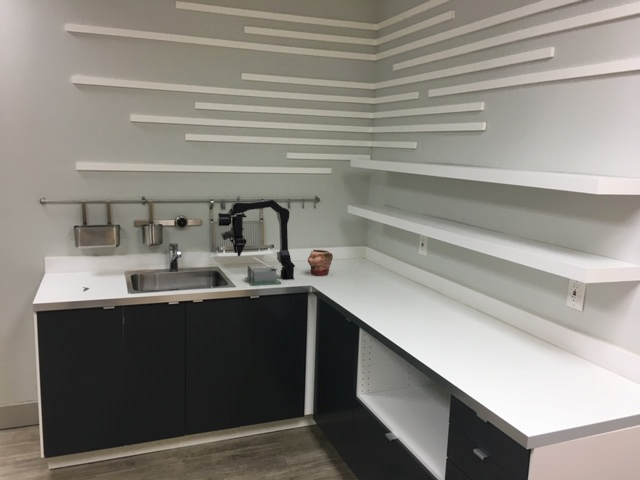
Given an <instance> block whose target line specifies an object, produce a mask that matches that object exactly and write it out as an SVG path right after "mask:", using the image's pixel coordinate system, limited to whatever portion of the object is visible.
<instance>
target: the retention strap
mask: <svg viewBox="0 0 640 480" xmlns="http://www.w3.org/2000/svg"><path fill="white" fill-rule="evenodd" d="M252 259H254V260H256V261H258V262H259V263H261V264H263V265H265V266H267V267H270V268H272V269H276V268H275V266H271V265H270V264H268V263H266V262H264V261H262V259H259V258H257V257H255V256H252Z"/></svg>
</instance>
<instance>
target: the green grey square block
mask: <svg viewBox="0 0 640 480" xmlns="http://www.w3.org/2000/svg"><path fill="white" fill-rule="evenodd" d="M245 280H246V281H247V283H248V284H249V285H250V286H251V287H253V286H254V287H257V286H270V285H271V286H272V285H273V286H274V285H281V284H282V281H280V280H279V278H277V268H275V269H272V268H270V267H269V266H267V267H252V268H251V266H249V265H247V276H245Z"/></svg>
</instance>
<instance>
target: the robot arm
mask: <svg viewBox="0 0 640 480" xmlns="http://www.w3.org/2000/svg"><path fill="white" fill-rule="evenodd" d="M266 208H271V210H273V211H274V212H276V218H277V220H278V224H279V225H278V226H279V251H277V252H276V255H277V257H276V260H277V262H278V263H279V264H280V265H281V270H280V278H281V279H282V280H295V277H294V276H295V275H294V274H295V271H294V270H295V266H296V265H295V264H294V263H293V262H292V258H291V253H290V251H289V243H288V242H289V240H288V238H289V237H288V223H289V220H290V213H291V212H290V210H289V209H288V208H286V207H284V206H281V205H280V204H279V203H277V202H276V201H275V200H274V199H267V200H258V201H249V202H247V201H246V202H244V201H234V202H233V203H232V204H231V206H230V209H229V210H228V211H227V213H226V212H225V213H223V212H218V214H217V218H216V219H217V221H216V222H217V223H216V224H217V226H218V227H229V226H230V225H231V227H230V229H229V230H227V231H224V232H222V233H220V236H221V238H222V240H223V241H227V240H229V242H231V243H232V248H233V251H234V254H237V257H241V255H242V253H243V250H244V249H245V247H246V244H247V239H246V238H245V237H244V233H243V231H244V229H245V228H244V224H243V223H244V220H243V219H244V218H247V215H246V214H245V213H246V212H248V211H252V210H260V209H266Z"/></svg>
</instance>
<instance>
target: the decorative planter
mask: <svg viewBox="0 0 640 480" xmlns="http://www.w3.org/2000/svg"><path fill="white" fill-rule="evenodd" d="M333 256H334V255H333V253H332V252H330V251H328V250H323V249H313V250H311V252H310V254H309V256H308V257H307V262H308V265H309V266H310V274H311V275H313V276H316V277H324V276H328V274H329V272H330V267H331V264H332V261H333V259H334V257H333Z"/></svg>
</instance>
